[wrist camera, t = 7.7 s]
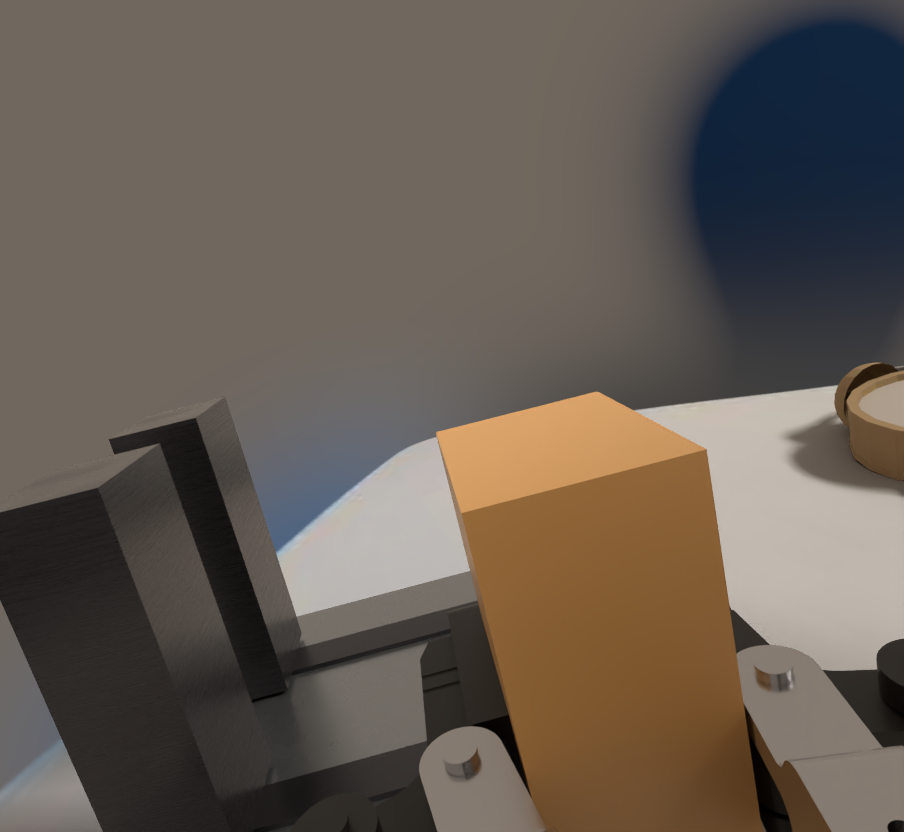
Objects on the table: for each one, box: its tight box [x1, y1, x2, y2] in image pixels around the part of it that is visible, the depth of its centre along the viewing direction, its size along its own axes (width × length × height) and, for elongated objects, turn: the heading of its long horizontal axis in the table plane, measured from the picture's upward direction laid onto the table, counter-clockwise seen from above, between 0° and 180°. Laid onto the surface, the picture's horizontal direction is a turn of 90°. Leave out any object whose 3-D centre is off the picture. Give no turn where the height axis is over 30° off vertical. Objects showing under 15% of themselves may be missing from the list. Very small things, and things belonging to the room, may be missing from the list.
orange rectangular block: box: [436, 392, 762, 832], centre depth 11 cm, size 3×4×11 cm
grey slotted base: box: [0, 397, 478, 832], centre depth 18 cm, size 18×23×14 cm
